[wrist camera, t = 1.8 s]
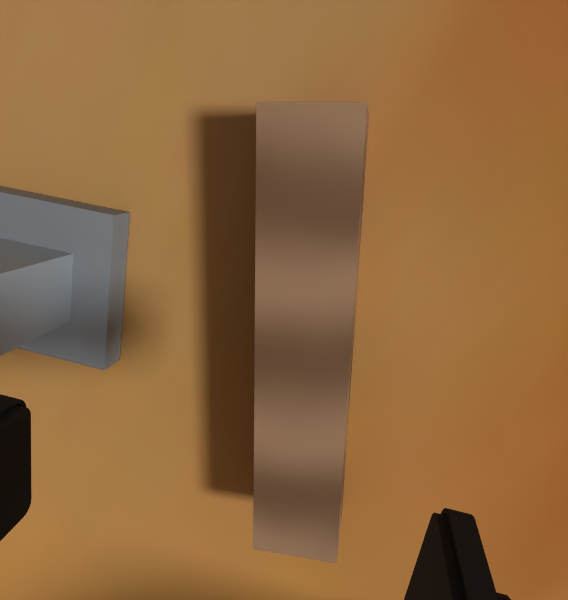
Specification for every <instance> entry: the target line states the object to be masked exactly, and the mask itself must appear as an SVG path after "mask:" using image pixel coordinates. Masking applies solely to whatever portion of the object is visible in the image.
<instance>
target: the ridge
mask: <svg viewBox="0 0 568 600" xmlns="http://www.w3.org/2000/svg"><path fill="white" fill-rule="evenodd" d="M129 218H130V212H126V211H121V210H116V209H111V208H106V207H101V206H96V205H91V204H86V203H81V202H76V201H71V200H67V199H62V198H57V197H52V196H47V195H42V194H37V193H32V192H27V191H22V190H17V189H12V188H8V187H3V186H0V356H1V355H3V354H5V353H7V352H9V351H11V350H13V349H15V348H20V349H24V350H28V351H32V352H36V353H39V354H43V355H47V356H51V357H55V358H59V359H63V360H67V361H71V362H75V363H79V364H83V365H87V366H91V367H94V368H98V369H102V370H105V369H107V368H108V367H109V366H111V365H112V364H114V363H115V362H116V361H118V360H119V359H120V349H121V334H122V320H123V305H124V290H125V276H126V261H127V247H128V232H129Z"/></svg>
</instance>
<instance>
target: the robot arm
mask: <svg viewBox="0 0 568 600" xmlns="http://www.w3.org/2000/svg"><path fill="white" fill-rule="evenodd" d="M30 504H31V413H30V410H29V409H28V408H26V404H25V402H24V401H23V400H20V399H16V398H12V397H8V396H5V395H0V541H1V540H2V539H3V538H4V537H5V536H6V535H7V534H8V532H9V531H10V530H11V529H12V528H13V527H14V526H15V525H16V524H17V523H18V522H19V521H20V520H21V519H22V518H23V517H24V516H25V514H26V513H27V511H28V509H29V507H30ZM404 600H511V599H510V598H509V597H508V596H507V595H504V594H500V593H497V592H496V590H495V587H494V583H493V580H492V576H491V573H490V570H489V566H488V563H487V559H486V556H485V552H484V549H483V545H482V542H481V539H480V535H479V532H478V528H477V525H476V521H475V519H474V516H472V515H471V514H467V513H463V512H459V511H455V510H451V509H447V508H444V509H443V511H442V512H441V514H438V513H433V514H432V517H431V519H430V522H429V525H428V528H427V531H426V534H425V537H424V541H423V544H422V547H421V550H420V553H419V556H418V559H417V562H416V565H415V568H414V571H413V574H412V577H411V580H410V583H409V586H408V589H407V592H406V595H405V598H404Z"/></svg>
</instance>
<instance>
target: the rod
mask: <svg viewBox="0 0 568 600" xmlns="http://www.w3.org/2000/svg"><path fill="white" fill-rule="evenodd" d="M368 122H369V111H368V105H367V102H256V219H255V364H254V509H253V549H257V550H263V551H269V552H274V553H280V554H286V555H292V556H297V557H303V558H309V559H315V560H320V561H326V562H332V563H336V561H337V552H338V543H339V533H340V524H341V515H342V504H343V489H344V474H345V460H346V445H347V430H348V416H349V401H350V386H351V372H352V357H353V342H354V328H355V313H356V298H357V284H358V269H359V254H360V240H361V225H362V210H363V196H364V181H365V166H366V152H367V137H368Z"/></svg>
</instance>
